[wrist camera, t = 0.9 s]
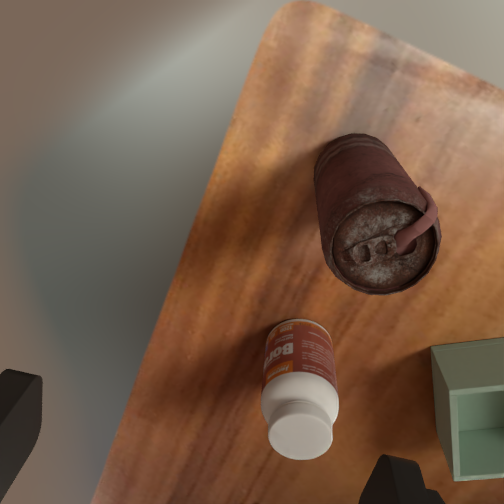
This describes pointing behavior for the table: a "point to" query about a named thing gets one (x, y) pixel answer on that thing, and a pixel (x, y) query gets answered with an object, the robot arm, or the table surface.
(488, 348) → the green tray box
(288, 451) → the pill bottle
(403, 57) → the table surface
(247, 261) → the table surface
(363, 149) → the can
